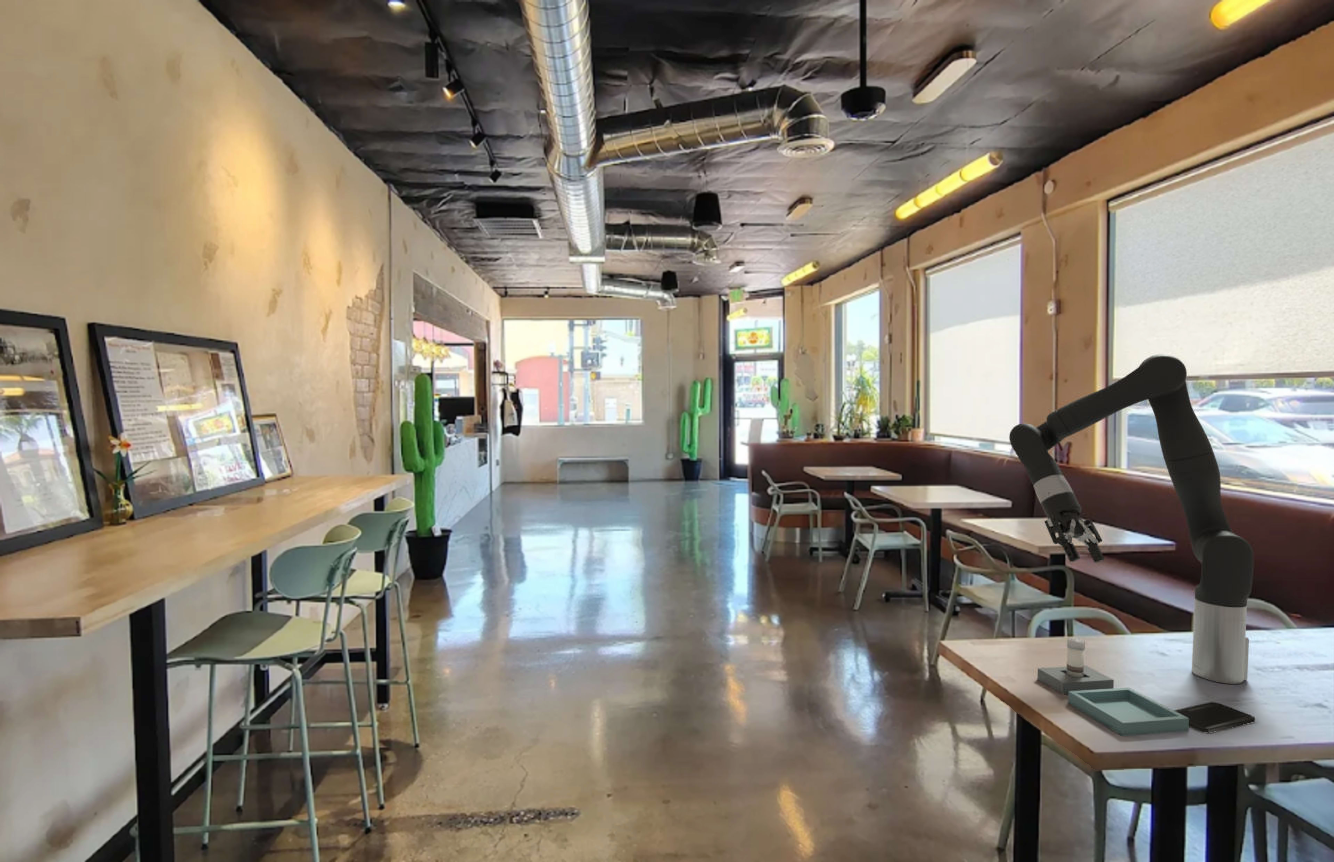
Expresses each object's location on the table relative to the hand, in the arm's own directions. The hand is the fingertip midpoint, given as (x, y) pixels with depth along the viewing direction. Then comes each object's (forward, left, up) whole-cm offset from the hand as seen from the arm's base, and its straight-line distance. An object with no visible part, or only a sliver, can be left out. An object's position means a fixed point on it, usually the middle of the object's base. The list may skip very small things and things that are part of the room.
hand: (1087, 560), depth 157 cm
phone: (-7, +25, -26) cm, 37 cm away
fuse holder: (+8, +7, -26) cm, 28 cm away
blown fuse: (+8, +7, -26) cm, 28 cm away
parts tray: (+9, +22, -26) cm, 35 cm away
